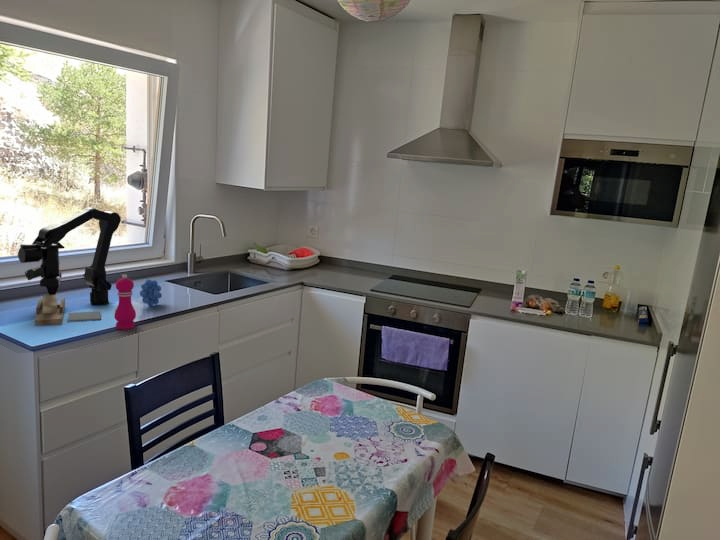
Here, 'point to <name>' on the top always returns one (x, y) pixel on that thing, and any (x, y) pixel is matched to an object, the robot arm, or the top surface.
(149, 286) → the grapes
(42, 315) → the walnut trough
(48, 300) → the maple block
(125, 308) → the pepper mill
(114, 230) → the robot arm
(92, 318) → the slate pad
